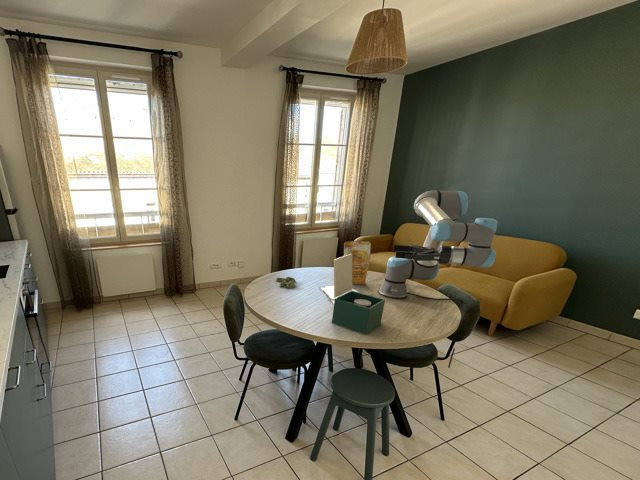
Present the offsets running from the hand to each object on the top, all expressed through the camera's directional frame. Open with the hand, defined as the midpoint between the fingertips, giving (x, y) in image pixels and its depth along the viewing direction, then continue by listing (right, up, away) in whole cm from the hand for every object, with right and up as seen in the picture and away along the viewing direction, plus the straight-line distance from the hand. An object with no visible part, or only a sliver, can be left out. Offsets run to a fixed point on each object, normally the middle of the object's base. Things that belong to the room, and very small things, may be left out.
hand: (394, 250), depth 144 cm
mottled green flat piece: (-37, -11, +73) cm, 83 cm away
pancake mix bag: (+8, -10, +76) cm, 77 cm away
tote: (-10, -33, +18) cm, 39 cm away
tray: (-6, -19, +54) cm, 58 cm away
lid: (-17, -10, +16) cm, 25 cm away
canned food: (-9, -33, +17) cm, 38 cm away
